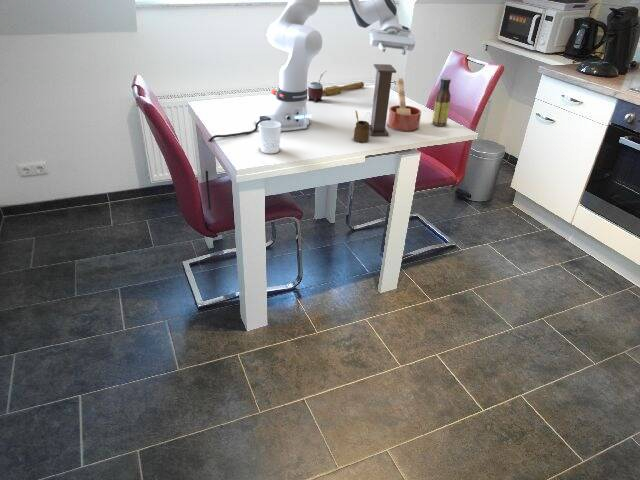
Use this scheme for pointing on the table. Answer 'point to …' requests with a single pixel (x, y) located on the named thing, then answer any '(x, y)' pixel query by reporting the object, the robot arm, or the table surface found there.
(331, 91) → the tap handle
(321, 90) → the mate gourd
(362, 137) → the wooden mate cup
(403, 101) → the light wooden bar
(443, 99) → the sauce bottle
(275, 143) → the white cup
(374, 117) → the stand
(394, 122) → the bowl
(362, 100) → the table surface
